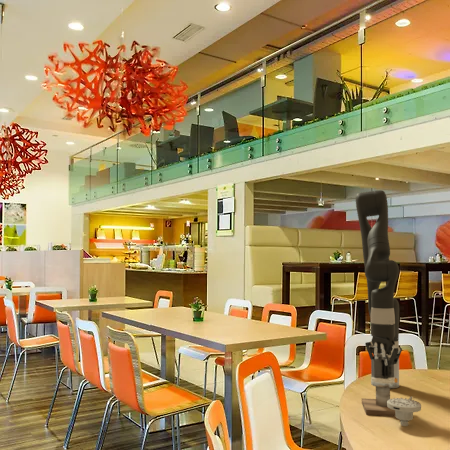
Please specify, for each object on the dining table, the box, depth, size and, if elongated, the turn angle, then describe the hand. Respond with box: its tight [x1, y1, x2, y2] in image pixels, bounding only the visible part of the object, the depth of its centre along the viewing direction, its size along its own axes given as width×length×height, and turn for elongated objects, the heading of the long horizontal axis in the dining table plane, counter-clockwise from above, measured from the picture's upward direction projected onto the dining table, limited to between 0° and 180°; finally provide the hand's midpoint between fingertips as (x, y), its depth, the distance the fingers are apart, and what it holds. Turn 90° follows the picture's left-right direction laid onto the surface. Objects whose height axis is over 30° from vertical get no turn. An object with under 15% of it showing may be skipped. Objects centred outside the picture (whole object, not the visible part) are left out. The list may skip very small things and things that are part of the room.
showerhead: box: [387, 396, 422, 427], centre depth 147 cm, size 9×7×10 cm
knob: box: [370, 358, 398, 389], centre depth 162 cm, size 7×8×8 cm
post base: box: [361, 386, 396, 417], centre depth 162 cm, size 13×12×8 cm
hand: (383, 375), depth 162 cm, fingers closed on knob, 2 cm apart
